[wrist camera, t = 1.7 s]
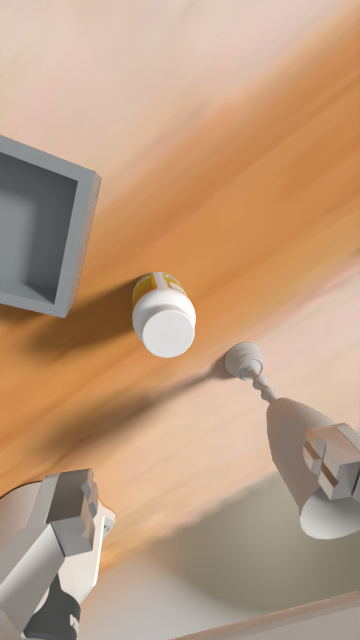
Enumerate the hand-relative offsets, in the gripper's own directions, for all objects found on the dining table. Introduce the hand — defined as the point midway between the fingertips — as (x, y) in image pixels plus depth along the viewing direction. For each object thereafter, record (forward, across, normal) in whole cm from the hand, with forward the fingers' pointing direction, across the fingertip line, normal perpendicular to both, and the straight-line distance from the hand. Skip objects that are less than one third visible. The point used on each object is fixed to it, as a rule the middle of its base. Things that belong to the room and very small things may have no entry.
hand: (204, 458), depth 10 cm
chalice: (+21, -10, +10) cm, 25 cm away
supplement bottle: (+21, 0, 0) cm, 21 cm away
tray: (+20, +12, -8) cm, 25 cm away
